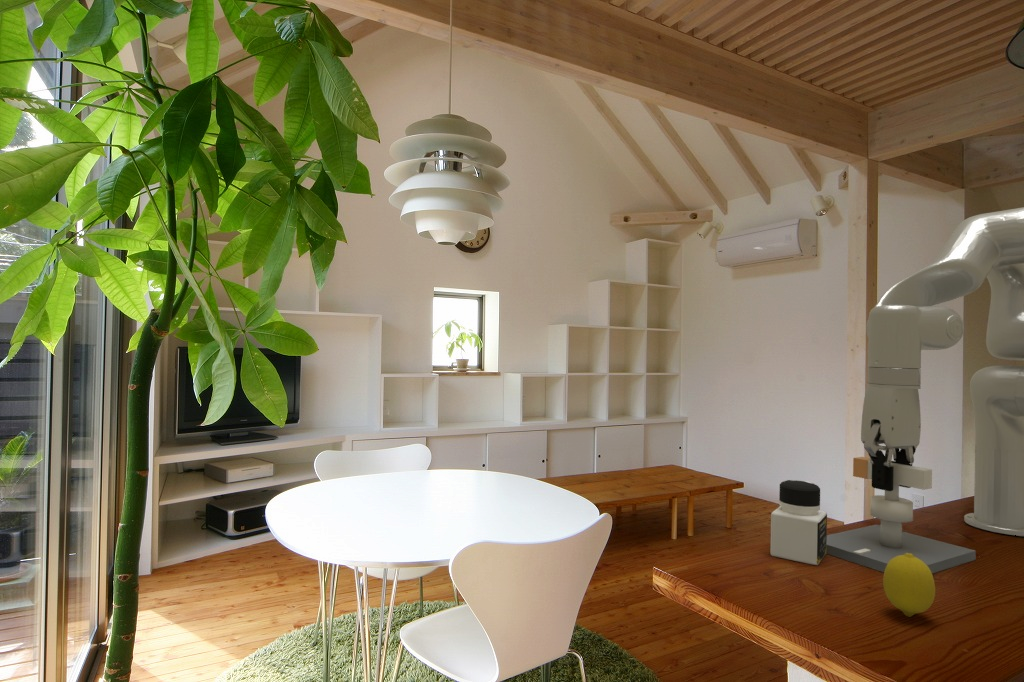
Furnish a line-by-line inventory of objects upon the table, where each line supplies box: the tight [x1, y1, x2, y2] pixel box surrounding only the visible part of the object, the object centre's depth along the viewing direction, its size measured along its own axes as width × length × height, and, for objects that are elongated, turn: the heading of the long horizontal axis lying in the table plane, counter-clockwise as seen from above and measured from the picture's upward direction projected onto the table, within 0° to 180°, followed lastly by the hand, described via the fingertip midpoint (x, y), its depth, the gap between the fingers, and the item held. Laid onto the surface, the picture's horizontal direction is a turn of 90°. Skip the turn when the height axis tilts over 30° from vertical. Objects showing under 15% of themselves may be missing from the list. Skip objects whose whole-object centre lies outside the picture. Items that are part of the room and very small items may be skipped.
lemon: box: [882, 553, 936, 617], centre depth 76 cm, size 6×6×8 cm
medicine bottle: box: [769, 479, 828, 566], centre depth 99 cm, size 7×7×12 cm
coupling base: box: [826, 519, 977, 574], centre depth 100 cm, size 20×16×6 cm
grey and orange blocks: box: [852, 456, 933, 523], centre depth 101 cm, size 11×6×9 cm, turn 30°
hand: (891, 486), depth 100 cm, fingers open, 4 cm apart
